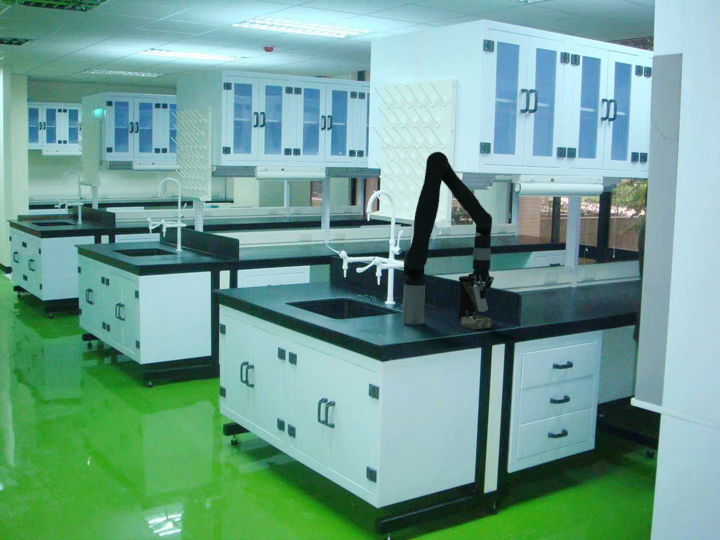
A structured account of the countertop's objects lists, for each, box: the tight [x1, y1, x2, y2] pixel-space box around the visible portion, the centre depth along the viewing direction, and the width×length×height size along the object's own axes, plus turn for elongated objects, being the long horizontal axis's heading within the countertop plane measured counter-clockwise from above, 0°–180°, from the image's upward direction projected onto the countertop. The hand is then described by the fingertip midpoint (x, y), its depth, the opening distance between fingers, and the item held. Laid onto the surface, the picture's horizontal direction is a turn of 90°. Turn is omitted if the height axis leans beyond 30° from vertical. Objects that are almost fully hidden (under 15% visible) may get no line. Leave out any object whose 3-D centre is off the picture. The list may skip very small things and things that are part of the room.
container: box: [457, 275, 477, 320], centre depth 345 cm, size 9×9×20 cm
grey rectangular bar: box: [473, 283, 489, 313], centre depth 326 cm, size 3×3×12 cm
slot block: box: [460, 311, 492, 330], centre depth 326 cm, size 10×8×7 cm
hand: (479, 298), depth 326 cm, fingers closed on grey rectangular bar, 3 cm apart
